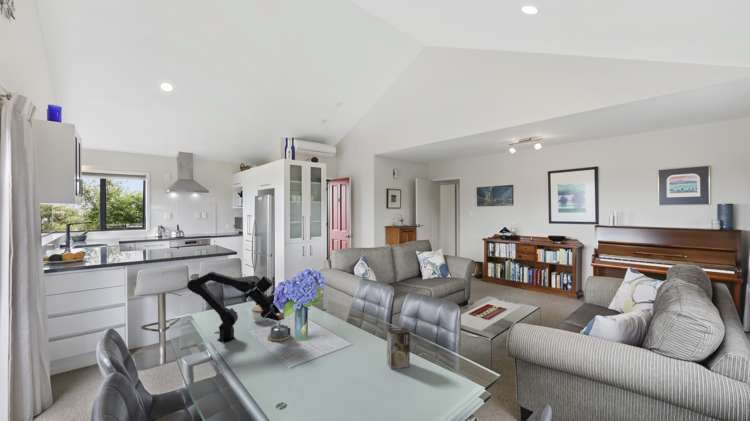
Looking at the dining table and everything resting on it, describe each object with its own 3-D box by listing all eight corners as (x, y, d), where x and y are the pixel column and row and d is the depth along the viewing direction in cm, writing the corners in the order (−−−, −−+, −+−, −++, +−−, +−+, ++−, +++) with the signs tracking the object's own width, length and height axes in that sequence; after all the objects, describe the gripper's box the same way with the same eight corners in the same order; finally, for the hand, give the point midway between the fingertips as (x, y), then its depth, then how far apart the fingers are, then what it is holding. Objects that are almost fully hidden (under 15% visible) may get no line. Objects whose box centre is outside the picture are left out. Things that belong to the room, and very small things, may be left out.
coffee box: (404, 360, 151) (405, 327, 151) (409, 367, 145) (410, 332, 145) (386, 363, 149) (386, 328, 149) (390, 369, 143) (391, 333, 143)
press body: (280, 343, 168) (280, 333, 168) (262, 338, 173) (263, 329, 173) (295, 335, 178) (295, 326, 178) (278, 331, 184) (278, 322, 184)
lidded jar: (266, 323, 195) (266, 308, 195) (248, 323, 195) (249, 308, 195) (272, 318, 206) (272, 303, 206) (255, 317, 206) (256, 302, 206)
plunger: (279, 333, 171) (280, 316, 171) (270, 330, 174) (270, 314, 174) (288, 329, 177) (288, 313, 177) (279, 326, 180) (279, 311, 180)
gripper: (267, 291, 165) (289, 312, 167) (272, 283, 184) (292, 301, 186) (251, 307, 164) (273, 327, 166) (258, 297, 182) (278, 316, 184)
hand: (280, 317), depth 176 cm, fingers open, 9 cm apart
